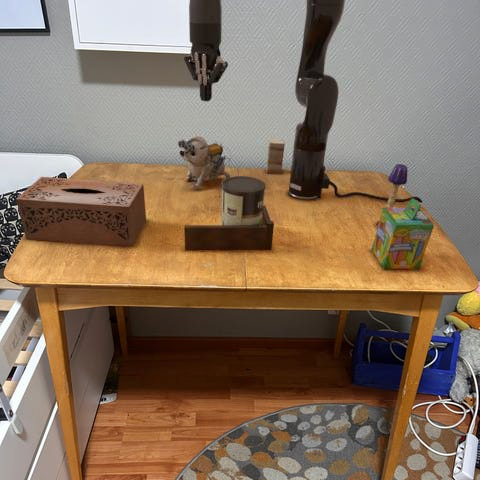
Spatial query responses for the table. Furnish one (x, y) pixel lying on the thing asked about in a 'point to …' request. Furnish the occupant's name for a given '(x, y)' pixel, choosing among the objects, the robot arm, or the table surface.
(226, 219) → the coffee can
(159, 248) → the table surface
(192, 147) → the robotic toy
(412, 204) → the chalk box
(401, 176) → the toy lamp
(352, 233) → the table surface
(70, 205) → the tissue box cover
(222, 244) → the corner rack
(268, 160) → the brown banded block
